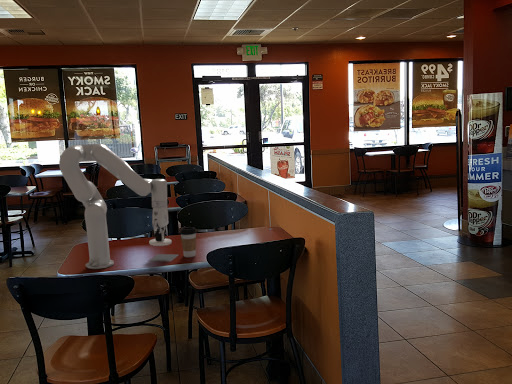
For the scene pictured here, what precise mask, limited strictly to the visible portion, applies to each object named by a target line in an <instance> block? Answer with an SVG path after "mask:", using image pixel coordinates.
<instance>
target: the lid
mask: <svg viewBox="0 0 512 384" xmlns="http://www.w3.org/2000/svg"><path fill="white" fill-rule="evenodd" d="M161 233H162V241H156V240H155V238H153V239H150V240H149V245H150V246H152V247H153V246H154V247H164V246H170V245H171V244H172V239H170V238H166V237H165V239H164V230H162V229H161Z"/></svg>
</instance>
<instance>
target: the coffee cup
mask: <svg viewBox="0 0 512 384" xmlns="http://www.w3.org/2000/svg"><path fill="white" fill-rule="evenodd" d="M179 235H180V241H181V246H182V247H181V248H182V251H183V252H182V253H183V257H185V258H193V257H196V254H197V253H196V250H197V229H196V227H192V226H186V227H181V228H180V233H179Z"/></svg>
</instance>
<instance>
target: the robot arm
mask: <svg viewBox="0 0 512 384" xmlns="http://www.w3.org/2000/svg"><path fill="white" fill-rule="evenodd" d="M85 162H86V163H87V162H96V163H97V164H98V165H100V166H101V167H102V168H104V169H105V170H106V171H108V172H109V173H110V174H112V175H113V176H114V177H116V179H118V180H119V181H121V182H122V183H123V184H125V186H126V187H127V188H129V189H130V190H131V191H133V192H134V193H135V194H137V195H139V196H141V197H146V196H148V195H149V194H150V193H151V208H152V215H151V217H152V228H153V230H154V234H155V238H154V239H155V240H156V241H162V233H161V229H162V230H164V239H165V238H166V226H168V224H169V211H168V210H169V209H168V183H167V182H168V181H167V180H166V179H164V178H155V179H150V178H143V177H142V176H140V174H138V173H137V172H135V170H133V169H132V168H131V166H130V165H129V164H128V163H127V162H126V161H125V160H124V159H123V158H121V157H120V156H118V155H117V154H116V153H114V151H112V150H111V149H110V148H109V147H108V146H107V145H106V144H104V143H93V144H91V143H90V144H74V145H69V146H68V147H67V148H66V149H64V150H63V152H62V154H61V155H60V158H59V162H58V163H59V165H58V166H59V169H60V173H61V174H62V176H63V178H64V180H65V181H66V182H65V183H67V185H68V187H69V189H70V191H71V192H72V194H73V195H74V198H75V199H76V200H77V201H78V202H81V203H82V205H83V207H84V208H85V209H84V220H85V227H86V236H87V245H88V246H87V247H88V255H89V257H88V258H89V260H88V262H87V263H85V267H86V268H87V269H91V270H99V269H106V268H109V267H112V266H113V265H115V262H114V260H113V259H111V256H110V245H109V234H108V224H107V211H108V208H107V207H108V206H107V203H106V202H105V200H104V199H103V196H102V195H101V193H100V192H99V190H98V189H97V188H98V187H97V186H96V185H95V184H94V183H93V182H92V181H90V180H88V179H87V178H86V176H85V174H84V172H83V171H82V169H81V168H80V163H85Z"/></svg>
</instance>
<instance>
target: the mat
mask: <svg viewBox="0 0 512 384" xmlns="http://www.w3.org/2000/svg"><path fill="white" fill-rule="evenodd" d="M178 256H179V254H176V253H175V254H174V253H171V254H169V253H168V254H166V253H157V254H155V255H154V256H153V257H151V258H150V259H148V262H173V261H174V260H175V259H176V258H177V257H178Z"/></svg>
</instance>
